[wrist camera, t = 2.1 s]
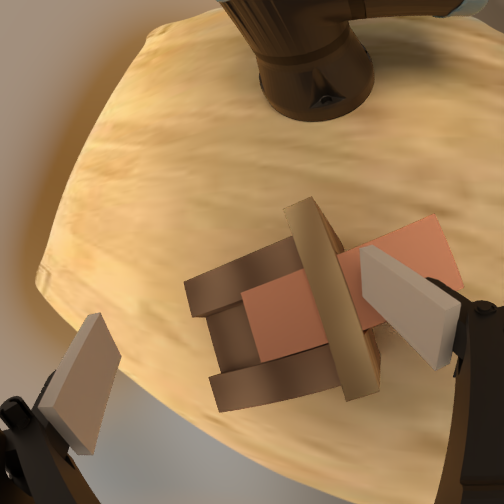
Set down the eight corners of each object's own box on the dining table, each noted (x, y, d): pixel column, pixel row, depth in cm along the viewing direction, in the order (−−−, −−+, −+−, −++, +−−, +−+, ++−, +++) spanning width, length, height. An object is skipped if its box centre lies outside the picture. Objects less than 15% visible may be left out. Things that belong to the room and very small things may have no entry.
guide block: (341, 242, 31) (311, 196, 19) (380, 356, 27) (379, 391, 15) (224, 288, 35) (143, 274, 23) (255, 393, 32) (182, 430, 19)
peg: (423, 235, 22) (434, 213, 17) (445, 292, 21) (464, 287, 15) (270, 297, 27) (240, 292, 21) (287, 352, 25) (261, 362, 20)
